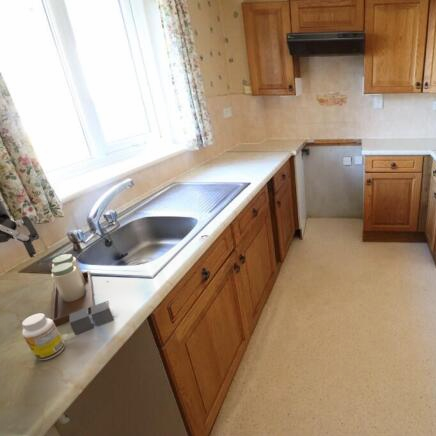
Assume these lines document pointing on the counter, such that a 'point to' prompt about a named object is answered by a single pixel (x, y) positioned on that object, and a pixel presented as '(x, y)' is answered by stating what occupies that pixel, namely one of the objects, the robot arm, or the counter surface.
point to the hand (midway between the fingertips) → (8, 263)
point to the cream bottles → (68, 277)
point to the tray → (72, 302)
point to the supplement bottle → (42, 336)
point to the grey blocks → (84, 319)
